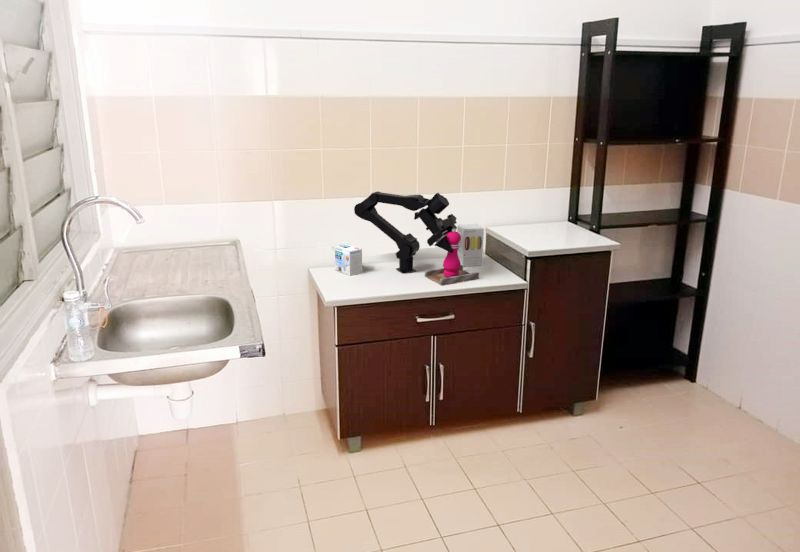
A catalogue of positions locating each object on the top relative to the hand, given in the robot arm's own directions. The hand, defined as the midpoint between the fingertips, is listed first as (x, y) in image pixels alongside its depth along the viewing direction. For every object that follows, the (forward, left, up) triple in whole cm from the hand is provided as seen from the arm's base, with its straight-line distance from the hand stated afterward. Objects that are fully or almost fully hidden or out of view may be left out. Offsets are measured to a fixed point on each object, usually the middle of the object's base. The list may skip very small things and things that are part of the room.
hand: (455, 251), depth 251 cm
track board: (-1, -1, -11) cm, 12 cm away
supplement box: (-15, +17, -12) cm, 26 cm away
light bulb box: (-28, -35, -12) cm, 46 cm away
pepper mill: (-1, -1, -11) cm, 11 cm away
